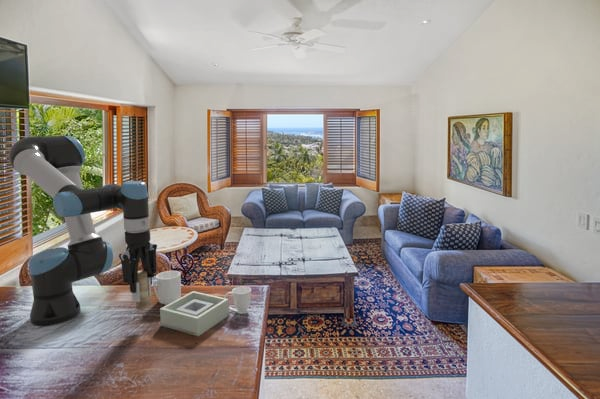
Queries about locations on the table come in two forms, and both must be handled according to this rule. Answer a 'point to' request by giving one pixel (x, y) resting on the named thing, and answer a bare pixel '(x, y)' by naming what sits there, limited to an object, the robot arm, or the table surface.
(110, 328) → the table surface
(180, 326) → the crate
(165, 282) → the mug
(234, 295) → the cup
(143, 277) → the peg
